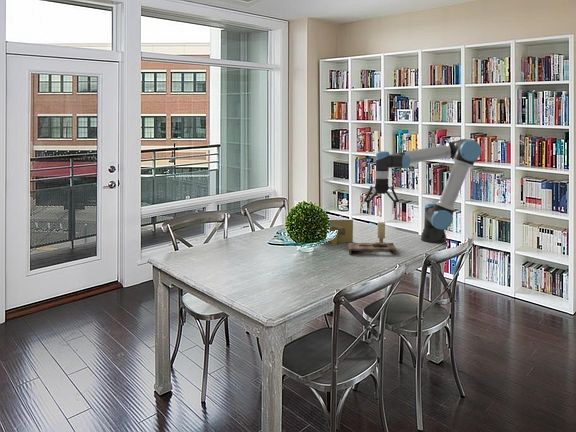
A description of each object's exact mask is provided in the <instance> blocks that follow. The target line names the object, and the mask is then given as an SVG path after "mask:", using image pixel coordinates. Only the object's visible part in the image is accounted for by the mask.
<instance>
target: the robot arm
mask: <svg viewBox="0 0 576 432" xmlns="http://www.w3.org/2000/svg"><path fill="white" fill-rule="evenodd" d="M481 154H482V147H481V145H480V144H479V142H477V141H476V140H474V139H467V138H462V139H458V140H454V141H451V142H446V143H445V144H443V145H437V146H431V147H426V148H420V149H419V148H418V149H415V150H408V151H402V152H393V153H391V154H390V151H385V150H384V151H381V150H380V151H377V152H376V153H375V179H374V181H375V185H374V186H372V185H370V186H369V190H368V192H367V194H366V195H365V198H364V199H363V202H365V203H366V208H367V209H368V215H371V208H372V207H371V206H372V205H371V201H372V200H373V199H374V198H375V197H376V196H377V195H378V194H379V195H382V194H383V195H387V196H388V197H389V198H390V199H391V201H392V202H391V215H395V214H394V213H395V210H394V209H396V206H397V203H399V202H400V200H399V197H398V196H397V194H396V192H395V191H396V190H395V187H394V186H393V185H391V186H390V185H389V170H390V169H392V168H393V169H394V168H395V169H407V168H409V167H410V166H411V164H415V163H416V164H417V163H421V162H426V161H428V162H429V161H432V160H439V159H440V160H441V159H445V158H447V159H449V160H450V159H452V160H453V162H454V163H453V165H452V169H451V170H450V173H449V175H448V178H447V180H446V183H445V185H444V188H443V190H442V192H441V194H440V195H441V196H440V197H439V200H438V201H437V202H435V203H426V204H425V205H424V220H423V221H424V223H423V224H424V226H423V230H422V233H421V236H420V240H421V241H423V242H426V243H445V242H446V241H447V234H446V231H445V230H446V229H448V228H450V226H452V224H453V219H454V218H453V215H454V212H455V207H454V205H455V204H456V200H457V198H458V196H459V193H460V191H461V189H462V187H463V184H464V181H465V179H466V176H467V174H468V172H469V169H470V168H471V167H473V166H474V164H475V162H476V160H478V159H479V158H480V156H481ZM373 190H375V191H374V193H373V194H372V195H371V193H372V191H373ZM388 190H391V192H392V194H393V196H392V195H391V194H390V193H389V192H388ZM370 195H371V196H370ZM393 197H394V198H395V199H394V198H393Z"/></svg>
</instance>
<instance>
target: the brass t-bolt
mask: <svg viewBox="0 0 576 432" xmlns="http://www.w3.org/2000/svg"><path fill="white" fill-rule="evenodd" d="M376 231H377V233H376V234H377V237H376V238H377V239H378V241H375V242H374V243H387V242H386V241H384V239H386V223H385V222H384V221H382V222H381V221H377V230H376Z"/></svg>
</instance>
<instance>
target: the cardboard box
mask: <svg viewBox="0 0 576 432" xmlns="http://www.w3.org/2000/svg"><path fill="white" fill-rule="evenodd" d="M329 220H330V232H331V231H335V230H338V233H337V235H336V237H335V238H334V239H333V240H331V241H330V242H329V243H331V246H335V245H338V244H337V243H354V242H353V241H354V220H353V219H329Z"/></svg>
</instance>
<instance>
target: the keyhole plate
mask: <svg viewBox="0 0 576 432" xmlns="http://www.w3.org/2000/svg"><path fill="white" fill-rule="evenodd" d="M347 250H348V255H352V251H392V254H393V255H397V247H396V245H395V244H394V242H386V243H375V242H347Z"/></svg>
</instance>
